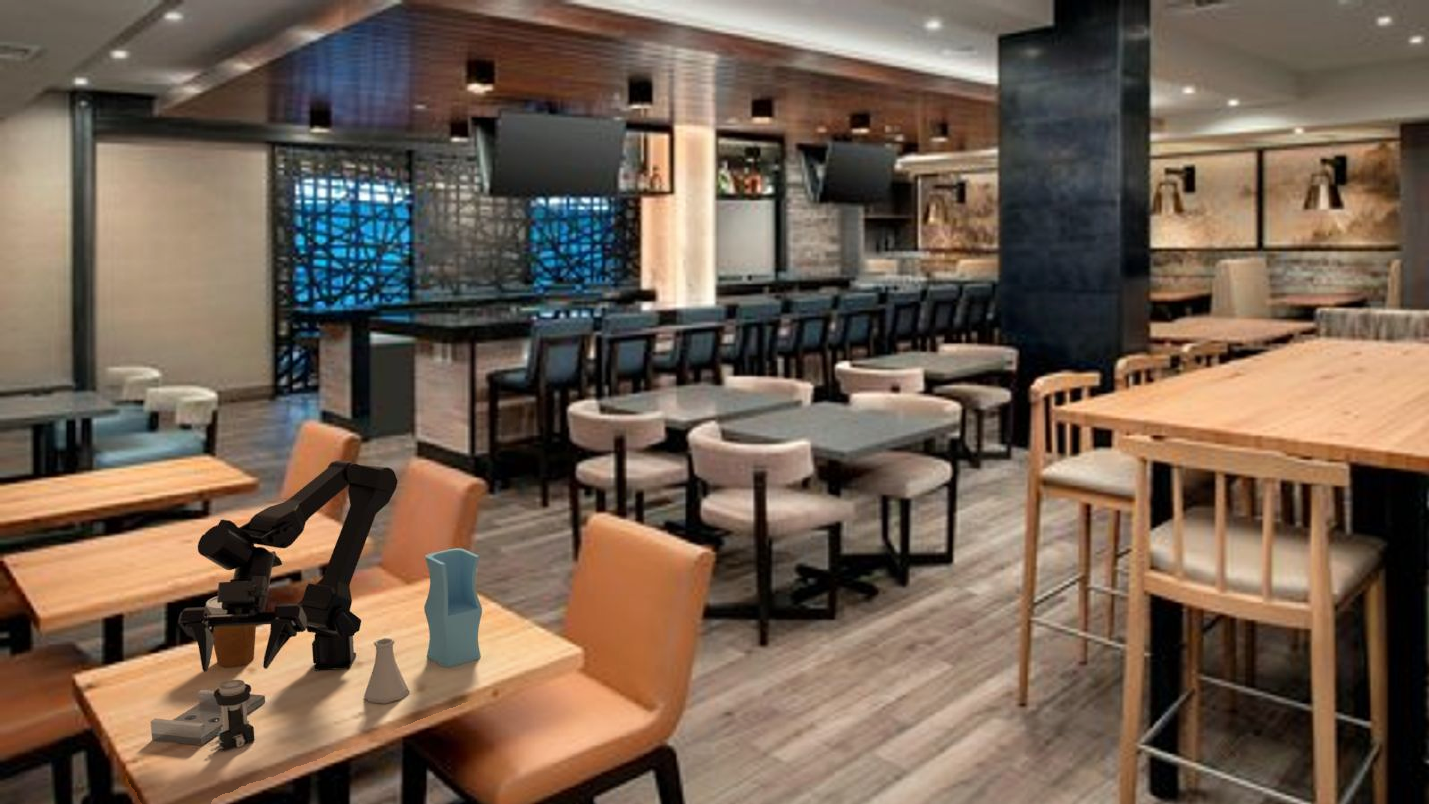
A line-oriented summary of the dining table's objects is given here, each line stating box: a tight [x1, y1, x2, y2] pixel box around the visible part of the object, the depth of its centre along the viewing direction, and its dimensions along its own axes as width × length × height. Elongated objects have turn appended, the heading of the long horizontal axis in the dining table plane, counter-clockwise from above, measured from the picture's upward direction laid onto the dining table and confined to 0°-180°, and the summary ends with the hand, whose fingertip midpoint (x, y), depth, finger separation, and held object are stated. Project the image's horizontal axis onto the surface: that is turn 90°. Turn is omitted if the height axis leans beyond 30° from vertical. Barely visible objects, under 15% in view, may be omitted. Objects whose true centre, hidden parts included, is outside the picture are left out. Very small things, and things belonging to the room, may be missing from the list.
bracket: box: [150, 689, 266, 747], centre depth 172 cm, size 16×9×3 cm, turn 168°
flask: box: [363, 637, 410, 704], centre depth 181 cm, size 7×7×10 cm
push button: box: [209, 679, 255, 752], centre depth 163 cm, size 7×5×10 cm
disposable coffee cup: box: [205, 595, 257, 668], centre depth 196 cm, size 10×10×12 cm
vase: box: [423, 547, 483, 668], centre depth 197 cm, size 8×8×20 cm
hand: (234, 669), depth 166 cm, fingers open, 9 cm apart
